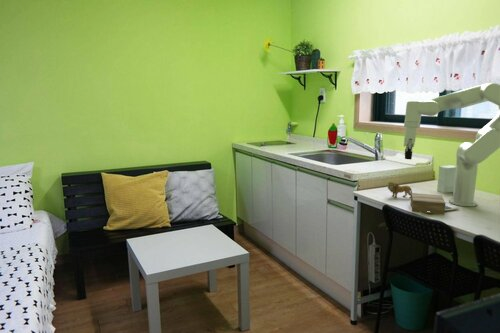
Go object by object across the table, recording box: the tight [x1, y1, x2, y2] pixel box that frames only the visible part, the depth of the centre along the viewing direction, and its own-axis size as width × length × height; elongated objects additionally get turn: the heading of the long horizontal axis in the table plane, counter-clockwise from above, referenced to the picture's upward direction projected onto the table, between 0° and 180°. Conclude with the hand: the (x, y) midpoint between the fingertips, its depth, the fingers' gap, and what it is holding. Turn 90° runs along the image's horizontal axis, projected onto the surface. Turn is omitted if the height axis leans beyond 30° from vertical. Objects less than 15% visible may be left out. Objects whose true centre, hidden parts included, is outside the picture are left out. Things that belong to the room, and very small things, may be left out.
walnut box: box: [410, 192, 446, 216], centre depth 190 cm, size 14×14×6 cm
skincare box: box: [436, 164, 456, 194], centre depth 221 cm, size 8×6×15 cm
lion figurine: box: [387, 181, 413, 200], centre depth 209 cm, size 15×5×9 cm, turn 93°
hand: (407, 157), depth 202 cm, fingers open, 9 cm apart
